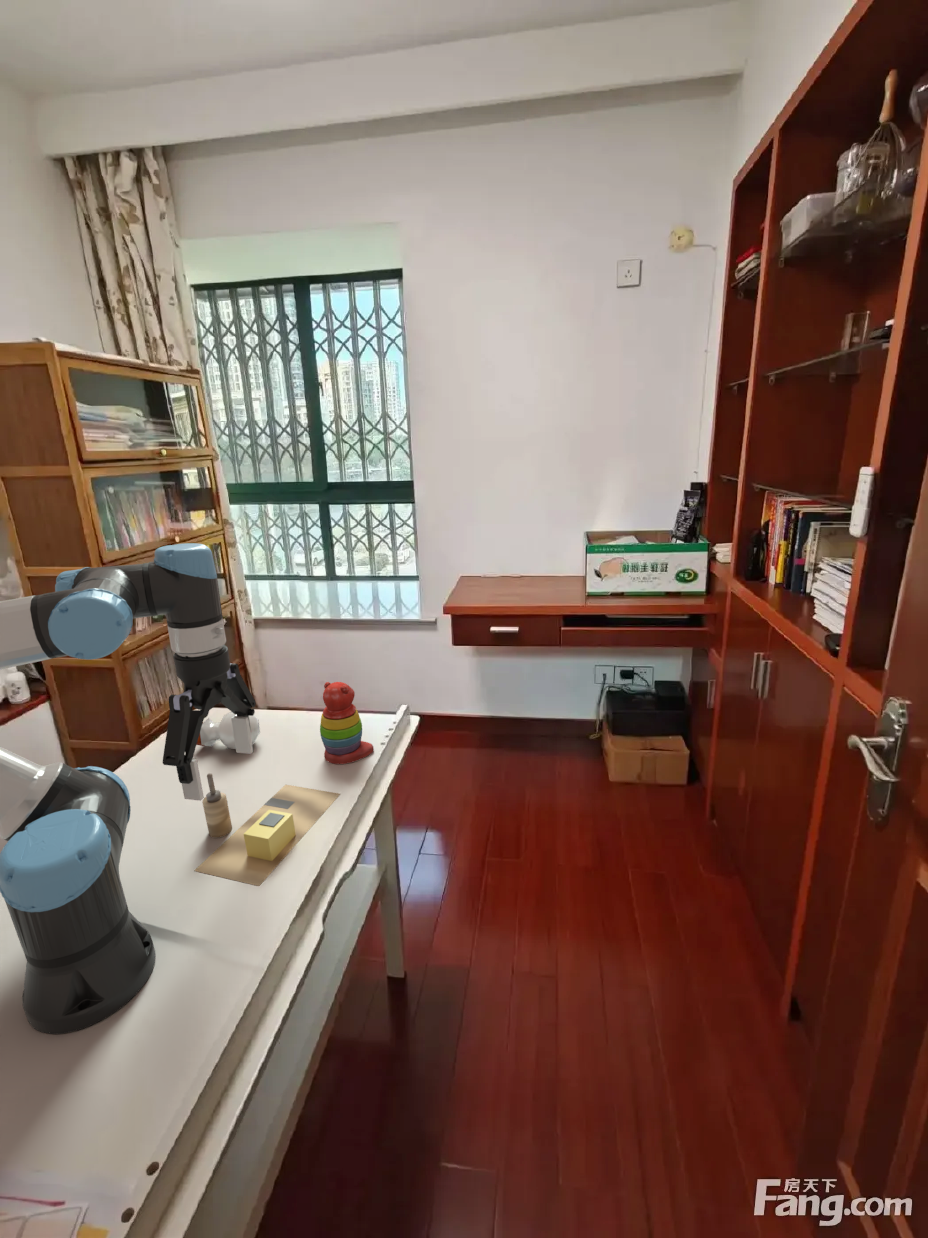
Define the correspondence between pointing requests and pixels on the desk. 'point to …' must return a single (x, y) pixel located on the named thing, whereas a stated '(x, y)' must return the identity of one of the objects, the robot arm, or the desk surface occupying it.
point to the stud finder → (269, 835)
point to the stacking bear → (342, 726)
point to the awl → (216, 811)
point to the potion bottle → (225, 731)
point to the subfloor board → (233, 852)
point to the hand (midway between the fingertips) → (221, 773)
